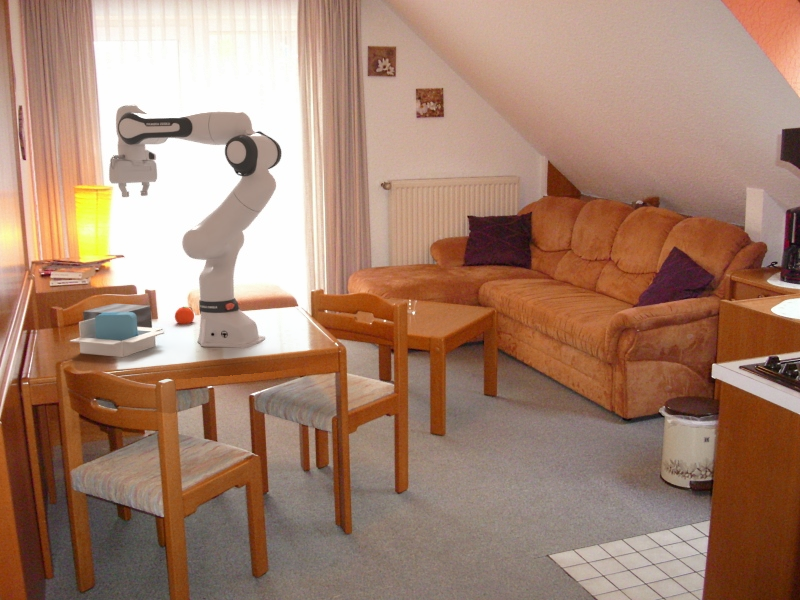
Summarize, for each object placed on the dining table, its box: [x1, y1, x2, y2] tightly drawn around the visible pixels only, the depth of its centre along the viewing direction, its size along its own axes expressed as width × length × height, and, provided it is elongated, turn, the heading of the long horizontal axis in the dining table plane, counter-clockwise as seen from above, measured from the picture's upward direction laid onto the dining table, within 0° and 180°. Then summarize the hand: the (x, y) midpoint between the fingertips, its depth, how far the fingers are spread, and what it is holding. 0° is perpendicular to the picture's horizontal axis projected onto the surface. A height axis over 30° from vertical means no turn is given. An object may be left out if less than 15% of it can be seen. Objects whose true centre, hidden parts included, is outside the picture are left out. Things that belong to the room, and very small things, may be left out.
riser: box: [82, 303, 153, 328], centre depth 280 cm, size 16×16×9 cm
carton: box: [69, 318, 165, 358], centre depth 254 cm, size 21×24×10 cm
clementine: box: [174, 306, 195, 325], centre depth 293 cm, size 8×7×7 cm
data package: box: [95, 312, 138, 341], centre depth 255 cm, size 12×4×12 cm, turn 91°
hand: (135, 196), depth 268 cm, fingers open, 8 cm apart
